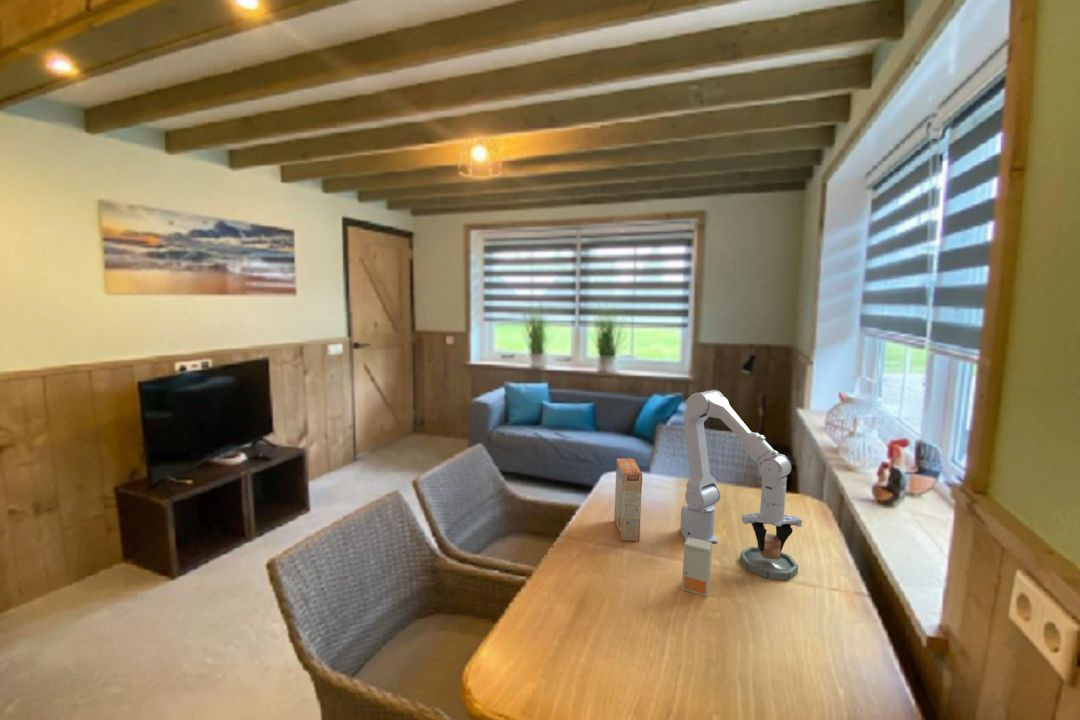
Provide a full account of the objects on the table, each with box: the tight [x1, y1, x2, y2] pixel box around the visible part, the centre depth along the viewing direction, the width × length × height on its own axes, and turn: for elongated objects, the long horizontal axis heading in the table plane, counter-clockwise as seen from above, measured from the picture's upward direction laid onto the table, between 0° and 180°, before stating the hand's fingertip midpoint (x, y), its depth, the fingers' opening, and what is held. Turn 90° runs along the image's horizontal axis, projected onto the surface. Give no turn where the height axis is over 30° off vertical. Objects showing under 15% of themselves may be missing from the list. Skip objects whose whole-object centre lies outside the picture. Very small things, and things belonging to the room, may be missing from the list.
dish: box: [739, 546, 799, 581], centre depth 127 cm, size 13×13×2 cm
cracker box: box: [613, 458, 643, 542], centre depth 145 cm, size 14×6×21 cm, turn 179°
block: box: [758, 533, 781, 559], centre depth 127 cm, size 4×4×5 cm
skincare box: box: [681, 537, 713, 597], centre depth 115 cm, size 6×4×12 cm
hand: (769, 549), depth 127 cm, fingers closed on block, 4 cm apart
